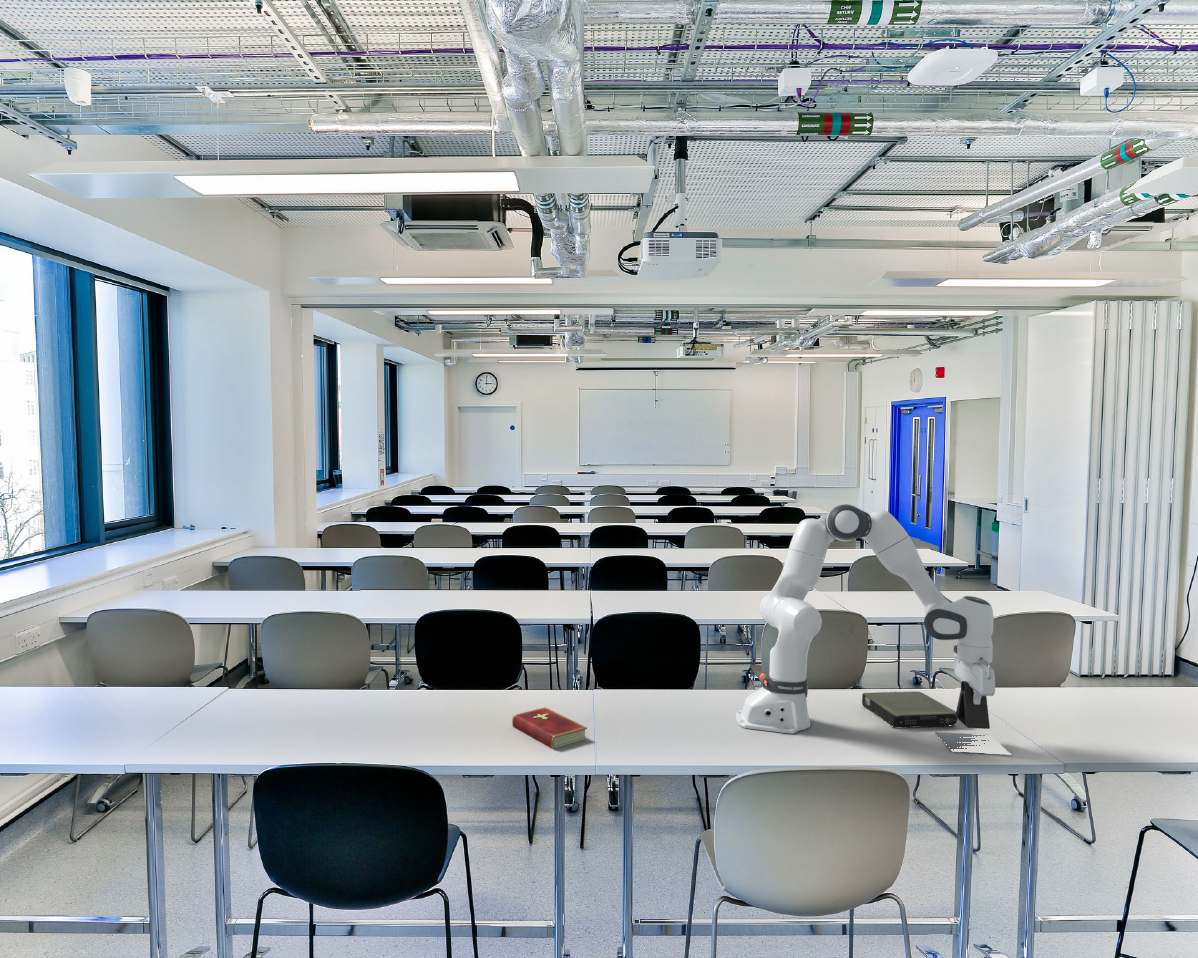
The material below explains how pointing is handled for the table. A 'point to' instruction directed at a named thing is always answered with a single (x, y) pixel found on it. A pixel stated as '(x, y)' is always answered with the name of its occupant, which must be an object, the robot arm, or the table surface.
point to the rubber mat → (956, 739)
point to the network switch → (908, 709)
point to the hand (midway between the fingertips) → (973, 701)
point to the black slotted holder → (972, 709)
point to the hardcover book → (549, 727)
